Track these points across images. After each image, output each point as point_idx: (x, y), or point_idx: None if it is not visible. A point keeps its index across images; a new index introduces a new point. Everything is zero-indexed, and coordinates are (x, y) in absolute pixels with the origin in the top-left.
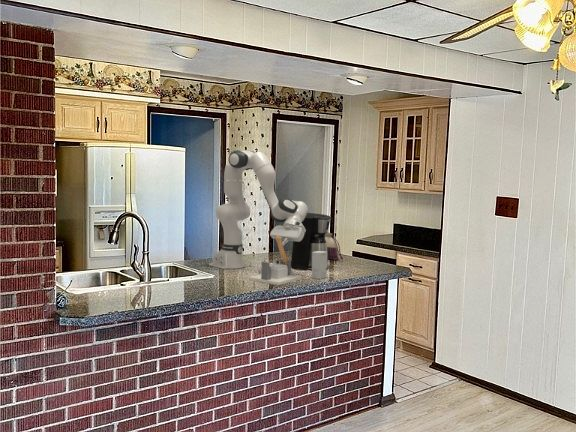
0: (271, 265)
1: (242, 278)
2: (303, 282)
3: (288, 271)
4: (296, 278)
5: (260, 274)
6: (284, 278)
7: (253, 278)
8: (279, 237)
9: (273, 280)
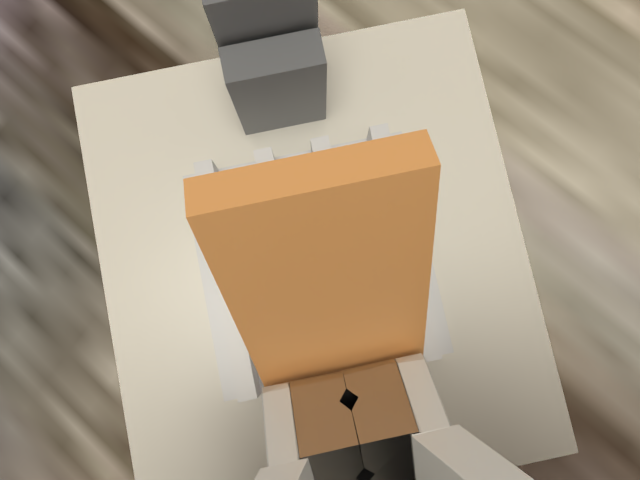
0: None
1: (553, 16)
2: (12, 412)
3: None
4: (129, 426)
5: (513, 203)
6: (180, 279)
7: (399, 24)
8: (200, 181)
9: (174, 110)
